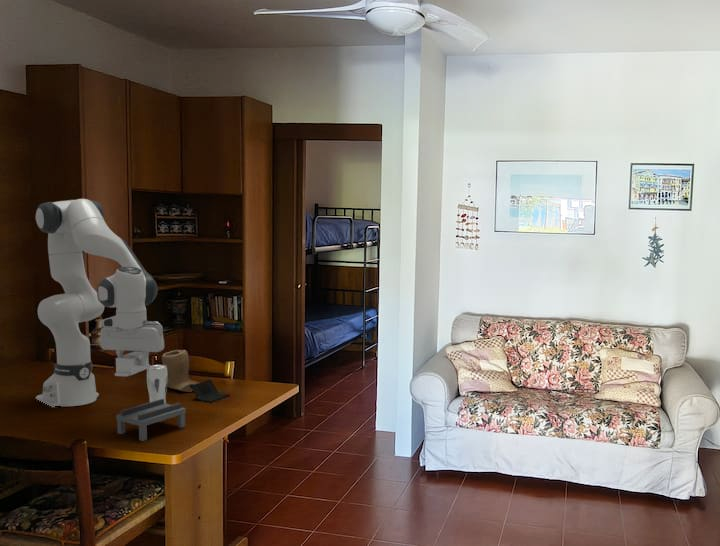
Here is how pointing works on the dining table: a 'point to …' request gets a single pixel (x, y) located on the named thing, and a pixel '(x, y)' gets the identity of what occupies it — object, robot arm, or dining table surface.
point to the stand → (149, 416)
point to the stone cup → (178, 370)
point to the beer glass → (157, 382)
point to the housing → (130, 364)
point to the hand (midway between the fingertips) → (133, 365)
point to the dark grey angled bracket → (207, 392)
